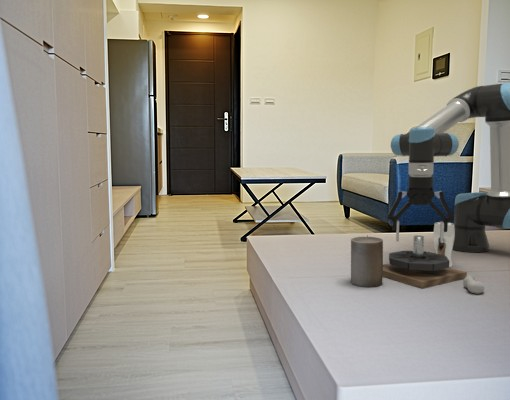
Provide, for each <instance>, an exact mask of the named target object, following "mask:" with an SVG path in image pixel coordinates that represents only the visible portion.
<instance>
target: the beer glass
mask: <svg viewBox="0 0 510 400" xmlns="http://www.w3.org/2000/svg"><path fill="white" fill-rule="evenodd" d="M454 240H455V224H454V222H448V229H447V232H444V243H441V242H440V221H438V222H434V226H433V247H434V253H436V254H440V255H445V256H446V257H447V258H448V260H449V268H452V267H453V261H452V253H453V245H454Z"/></svg>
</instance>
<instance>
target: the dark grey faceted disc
mask: <svg viewBox="0 0 510 400" xmlns="http://www.w3.org/2000/svg"><path fill="white" fill-rule="evenodd" d="M388 261H389V263H388V264H390V265H394V266H398V267H401V268H405V269H411V270H430V271H433V270H434V271H435V270H439V269H444V268H450V267H449V260H448V258H447V257H446V256H445V255H440V254H436V253H435V252H430V251H426V250H424V254H423V259H415V258H413V250H399V251H395V252H390V253H388Z"/></svg>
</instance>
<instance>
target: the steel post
mask: <svg viewBox="0 0 510 400" xmlns="http://www.w3.org/2000/svg"><path fill="white" fill-rule="evenodd" d="M412 243H413V246H412V248H413V249H412V251H413V258H415V259H423V254H424V251H425V249H424V248H425V246H424V245H425V236H424V235H417V234H416V235H413V242H412ZM416 271H422V270H416Z"/></svg>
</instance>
